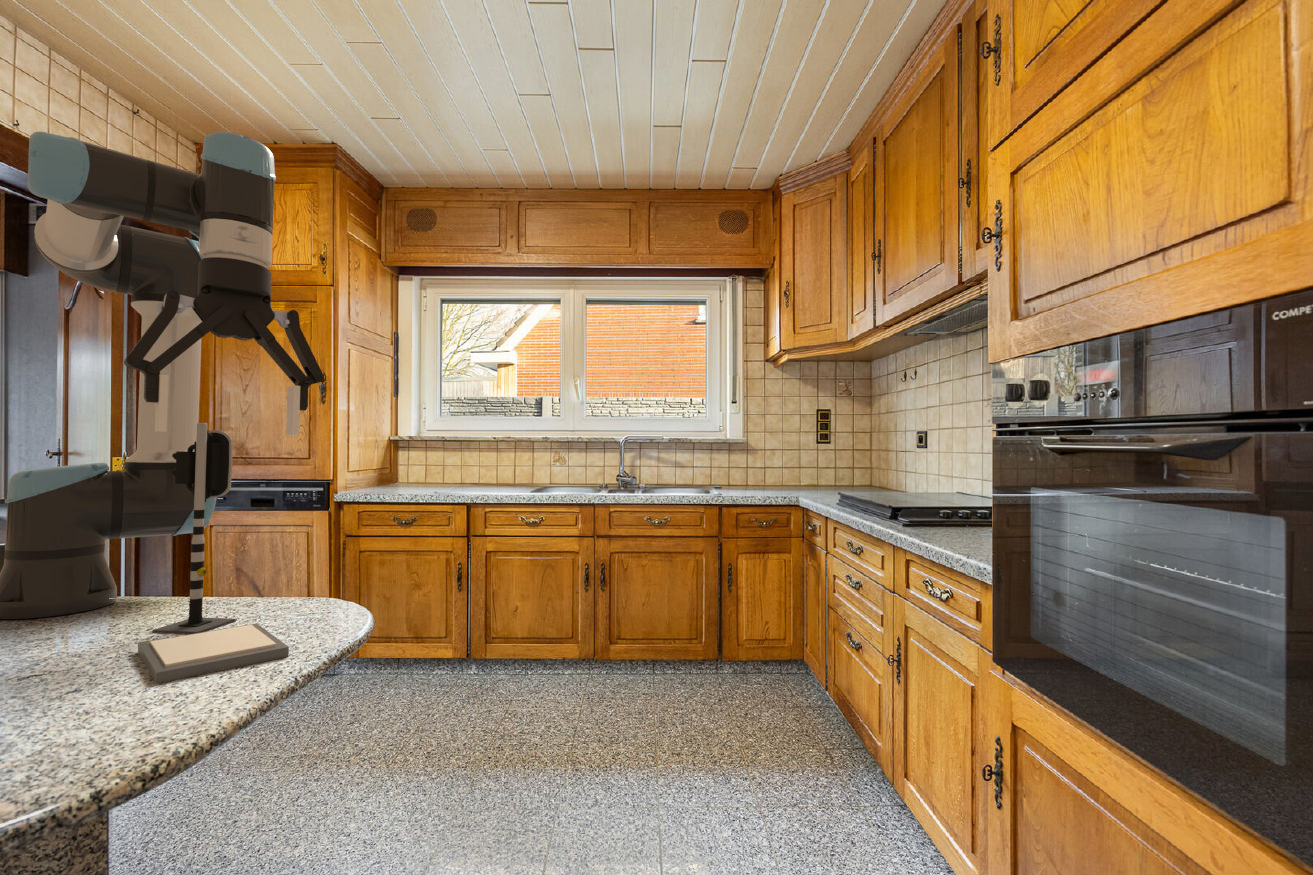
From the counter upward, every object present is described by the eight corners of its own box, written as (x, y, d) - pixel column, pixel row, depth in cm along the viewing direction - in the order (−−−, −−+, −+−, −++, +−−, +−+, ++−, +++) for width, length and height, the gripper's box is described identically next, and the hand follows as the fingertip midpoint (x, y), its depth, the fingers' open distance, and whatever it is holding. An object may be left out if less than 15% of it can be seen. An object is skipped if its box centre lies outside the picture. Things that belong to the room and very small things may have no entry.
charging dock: (137, 652, 77) (138, 640, 77) (256, 631, 87) (256, 621, 87) (156, 683, 67) (156, 669, 67) (288, 656, 76) (288, 644, 77)
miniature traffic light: (239, 620, 93) (245, 424, 94) (197, 634, 85) (204, 421, 86) (194, 618, 93) (201, 424, 94) (148, 632, 86) (156, 421, 87)
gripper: (104, 229, 64) (96, 429, 64) (352, 280, 82) (348, 436, 82) (98, 245, 69) (91, 430, 69) (332, 290, 87) (328, 437, 87)
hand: (230, 434), depth 75 cm, fingers open, 13 cm apart
